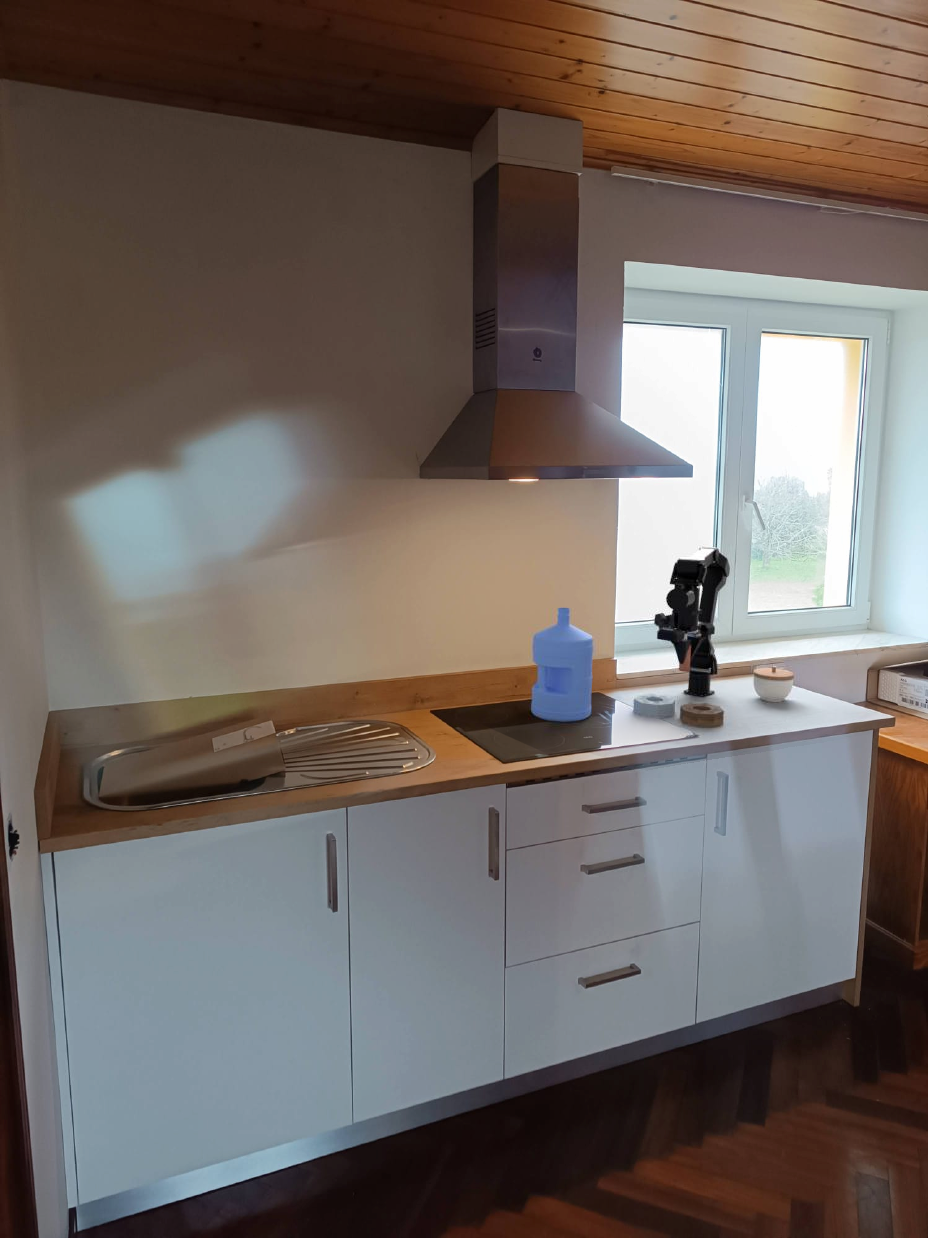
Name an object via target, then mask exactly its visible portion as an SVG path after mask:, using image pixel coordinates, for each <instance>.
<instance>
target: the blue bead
mask: <svg viewBox="0 0 928 1238" xmlns="http://www.w3.org/2000/svg"><path fill="white" fill-rule="evenodd" d="M632 710H633V712H634V713H635V714H637V715H639V716H641V717H647V718H655V719H659V718H660V719H662V718H669V717H670V718H671V717H672V716H674V714H675V713H676V699H674V698H672V697H670V696H668V695H663V694H653V693H648V694H637V695H636V696H635V697H634V698H633V709H632Z"/></svg>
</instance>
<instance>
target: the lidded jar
mask: <svg viewBox="0 0 928 1238" xmlns="http://www.w3.org/2000/svg"><path fill="white" fill-rule="evenodd" d="M752 675H753V681H752V682H753V688H754V691H755V693H756V695H757V696H759V698H760V700H761V701H766V702H771V703H780V702H783V701H784V699H786V698H787V697H789V695H790V693H791V691H792V689H793V685H794V678H795V674H794V672H792V671H790V670H786V669H781V668H777V666H776V665H773V666H771V667H760V668H756V669H753V672H752Z"/></svg>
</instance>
